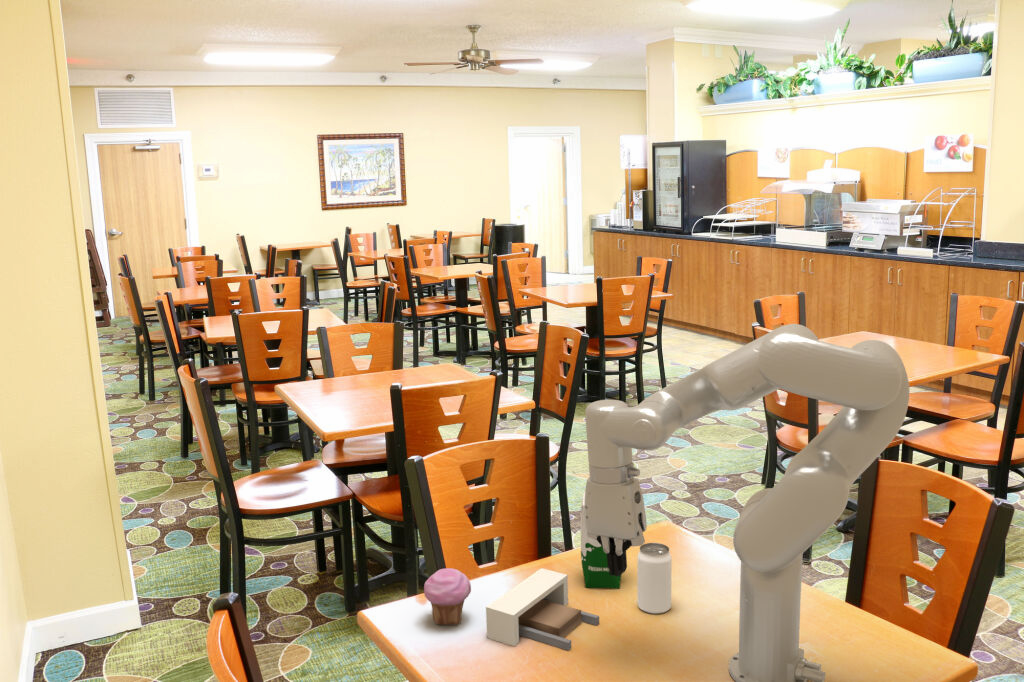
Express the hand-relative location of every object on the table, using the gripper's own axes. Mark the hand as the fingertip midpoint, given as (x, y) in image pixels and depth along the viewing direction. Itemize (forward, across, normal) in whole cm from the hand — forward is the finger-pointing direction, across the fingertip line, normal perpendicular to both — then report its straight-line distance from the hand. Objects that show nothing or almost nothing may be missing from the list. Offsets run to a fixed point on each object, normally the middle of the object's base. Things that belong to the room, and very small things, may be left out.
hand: (617, 572), depth 152 cm
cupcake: (+12, +32, +8) cm, 36 cm away
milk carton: (+13, +16, -22) cm, 30 cm away
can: (+14, +2, -17) cm, 22 cm away
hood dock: (+13, +15, 0) cm, 20 cm away
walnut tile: (+13, +16, 0) cm, 21 cm away
